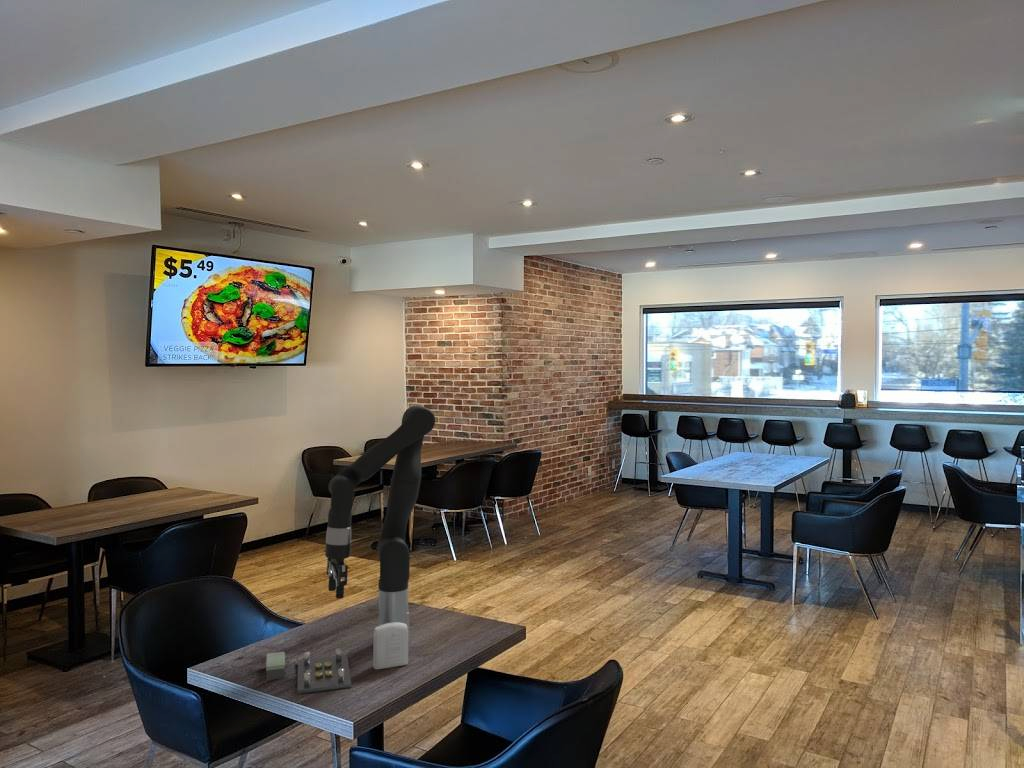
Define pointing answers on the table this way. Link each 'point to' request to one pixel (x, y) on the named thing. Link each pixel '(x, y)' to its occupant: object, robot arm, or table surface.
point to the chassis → (323, 673)
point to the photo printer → (390, 645)
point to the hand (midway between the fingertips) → (335, 594)
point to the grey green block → (275, 665)
